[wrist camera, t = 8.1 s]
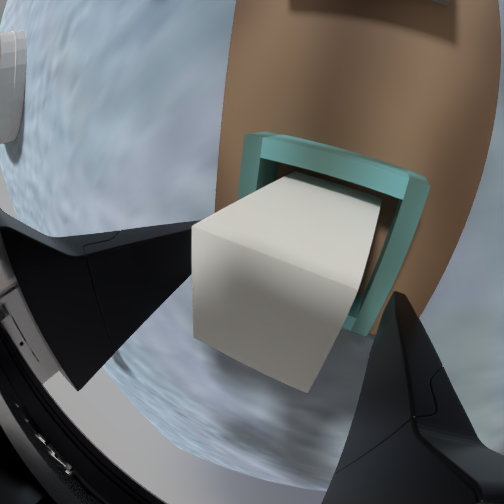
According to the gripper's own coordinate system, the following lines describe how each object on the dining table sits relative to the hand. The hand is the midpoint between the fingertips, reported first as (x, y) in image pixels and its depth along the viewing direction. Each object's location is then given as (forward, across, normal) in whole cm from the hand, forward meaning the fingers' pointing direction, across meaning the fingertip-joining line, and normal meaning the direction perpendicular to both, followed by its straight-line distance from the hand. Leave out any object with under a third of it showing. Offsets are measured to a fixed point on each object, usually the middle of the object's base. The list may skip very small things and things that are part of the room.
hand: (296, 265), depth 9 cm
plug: (+4, 0, 0) cm, 4 cm away
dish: (+6, +55, -11) cm, 56 cm away
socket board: (+6, 0, -8) cm, 9 cm away
